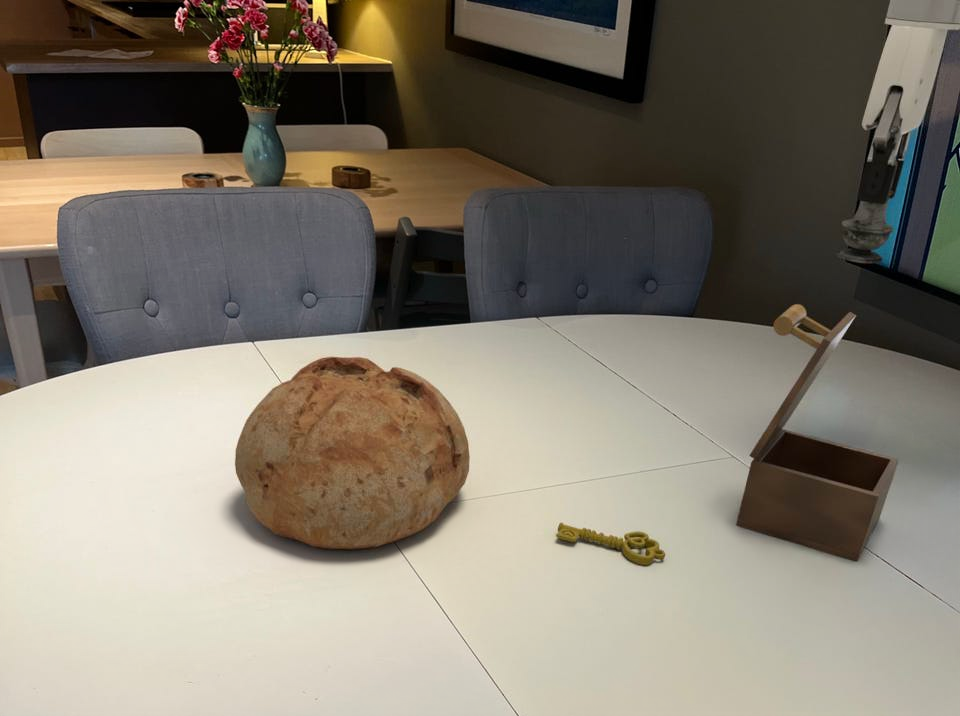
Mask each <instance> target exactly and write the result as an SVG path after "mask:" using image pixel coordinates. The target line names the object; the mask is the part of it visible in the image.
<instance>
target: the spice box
mask: <svg viewBox="0 0 960 716" xmlns="http://www.w3.org/2000/svg"><path fill="white" fill-rule="evenodd" d="M899 461H900V458H898V457H894V456H890V455H887V454H882V453H877V452H874V451H869V450H867V449H863V448H859V447H854V446H851V445H846V444H842V443H839V442H835V441H831V440H828V439H824V438H819V437H816V436H813V435H808V434H804V433H800V432H797V431H792V430H789V429H785V428H782V429H781V430H780V432H779V433H778V434H777V435H776V436H775V437H774V439H773V440H772V441H771V442H770V443H769V444H768V446H767V447H766V448H765V449H764V450H763V451H762V453H761V454H760V455H759V456H758V457H757V458H756V459H754V458H752V460H751V462H750V467H749V470H748V474H747V479H746V481H745V486H744V490H743V494H742V499H741V501H740V502H741V503H740V507H739V511H738V515H737V519H736V523H735V526H738V527H742V528H745V529H748V530H752V531H755V532H759V533H762V534H764V535H767V536H771V537H774V538H778V539H782V540H785V541H788V542H791V543H795V544H797V545H798V544H799V545H801V546H804V547H808V548H812V549H814V550H818V551H822V552H826V553H828V554H831V555H836V556H838V557H841V558H845V559H848V560H851V561H855V562H858V561H859V559H860V557H861V555H862V554H863V551H864V550H865V548H866V546H867V544H868V542H869V541H870V538H871V536H872V534H873V532H874V530H875V529H876V526H877V525H878V523H879V521H880V518H881V515H882V512H883V508H884V506H885V503H886V500H887V497H888V494H889V491H890V488H891V485H892V482H893V479H894V477H895V473H896V471H897V467H898V465H899Z"/></svg>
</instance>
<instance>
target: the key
mask: <svg viewBox="0 0 960 716" xmlns="http://www.w3.org/2000/svg"><path fill="white" fill-rule="evenodd" d="M555 537H556V538H557V539H560V540H563V541H568V542H570V543H575V542H577V540H578V539H580V540H584V541H586V542H588V541H589V542H590V543H593V542H596V543H597V545H602V544H604V545H606V547H608V548H612V549H615V548H616V549H617V551H619V550H621V552H622V554H623V555H624V557H625V558H626V559H627V560H628V561H631V562H633V563H635V564H638V565H640V566H641V565H642V566H648V565H651V564H652V563H653V562H654V560H658V561H659V560H663V559H665V558H666V552H665V551H664V550H663V549H661V548H660V544H659V542H658V541H657V540H656V539H652V538H650V537H649V534H648V533H647V532H644V531H631V532H627V533H624V536H623V537H618V536H616V535H615V536H613V534H610V535H608V536H607V535H605V534H604V533H603V532H599V533H597V532H596V530H592V529H591V528H586V527H583V528H578V527H574V526H572V525H567V524H564V522H559V524H558V526H557V533H556V535H555ZM631 548H635V549H643V548H645V552H644V553H645V555H642V554H639V553H637V552H636V551H633V550H632V549H631Z"/></svg>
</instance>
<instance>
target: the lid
mask: <svg viewBox="0 0 960 716" xmlns="http://www.w3.org/2000/svg"><path fill="white" fill-rule="evenodd" d="M856 317H857V315H856V314H855V313H853V312H851V311H849V312H848V313H847V314H846V315H845V316H844V317H843V318H842V319H841V320H840V321H839V322H838V323H836V325H835V326H834V327H833V328H832V329H830V328H827V327H826V326H824V325H822V324H821V323H819V322H817V321H815V320H814V319H813V318H810V317H809V316H808V315H807V310H806V308H805V307H804V305H802V304H799V303H797V304H793V305H791V306H790V307H789V308H787V309H786V310H785V311H784V312H782V314H780V315H779V316H778V317H777V318H776V319H775V320H774V322H773V331H774V332H775V334H777V335H778V336H782V337H784V336H785V337H786V336H787V335H789V334H790V335H792V336H793V337H795V338H797V339H798V340H800V341H802V342H803V343H805V344H807V345H809V346H810V347H812V348H814V349H815V351H814V353H813V354H812V356H811V358H810V359H809V361H808V362H807V364H806V366H805V367H804V368H803V371H802V372H801V373H800V375H799V377H798V378H797V380H796V381H795V383H794V384H793V386H792V388H791V389H790V390H789V392H788V394H787V395H786V397H785V399H784V400H783V402H782V403H781V404H780V406H779V408H778V410H777V411H776V413H775V414H774V416H773V418H772V419H771V421H770V422H769V424H768V425H767V427H766V429H765V430H764V432H763V433H762V435H761V436H760V438H759V440H758V441H757V442H756V444H755V446H754V447H753V449H752V450H751V452H750V453H749V457H750V458H752V459H756V458H757V457H758V456H759V455H760V454H761V453H762V451H763V450H764V449H765V448H766V447H767V446H768V444H769V443H770V442H771V441H772V440H773V439H774V437H775V436H776V435H777V434H778V433H779V432H780V430H781V429H784V427H785V426H786V424H787V423H788V422H789V420H790V419H791V417H792V415H793V413H794V412H795V411H796V409H797V408H798V406H799V404H800V403H801V401H802V400H803V399H804V397H805V395H806V394H807V392H808V390H809V389H810V388H811V386H812V384H813V383H814V381H815V380H816V378H817V377H818V375H819V374H820V372H821V370H822V369H823V368H824V366H825V364H826V363H827V361H828V360H829V358H830V357H831V355H832V353H833V352H834V350H835V349H836V348H837V346H838V344H839V343H840V341H841V340H842V338H843V337H844V335H845V334H846V332H847V330H848V329H849V327H850V326H851V324H852V323H853V321H854V320H855V318H856ZM800 324H802V325H803V326H805V327H807V328H809V329H811V330H812V331H813V332H815V333H817V334H819V335H820V336H822V337H823V339H822V340H820V339H818V338H816V337H815V336H813V335H811V334H809V333H807V332H806V331H804V330H803V329H801V328H799V327H798V326H800Z"/></svg>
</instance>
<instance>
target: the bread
mask: <svg viewBox="0 0 960 716" xmlns="http://www.w3.org/2000/svg"><path fill="white" fill-rule="evenodd" d="M234 457H235V458H234V468H235V474H236V477H237V479H238V482H239V484H240V485H241V487H242V489H243V492H244V497H245V500H246V504H247V508H248V509H249V511H250V513H252V515H253V516H254V517H255V518H256V520H257V521H258V522H259V523H260V524H261V525H262V526H264V527H265V528H266V529H268V530H269V531H270V532H272V533H273V534H274V535H276V536H280V537H284V538H288V539H292V540H296V541H299V542H301V543H303V544H305V545H308V546H310V547H313V548H321V549H335V550H338V549H339V550H341V549H343V550H345V549H346V550H357V549H369V548H377V547H381V546H383V545H384V546H385V545H386V544H390V543H393V542H396V541H399V540H401V539H404V538H407V537H409V536H412V535H413V534H416V533H418V532H420V531H423V530H425V528H427V527H428V526H429V525H431V524H433V522H435V521H436V519H437V518H438V517H439V516H440V514H441V513H442V511H443V510H444V509H445V507H446V506H447V504H448V503H450V502H451V501H453V500H454V499H455V498H456V496H457V495H458V493H459V492H460V491H461V490H462V488H463V486H465V484H466V482H467V478H468V475H469V473H470V459H471V457H470V450H469V440H468V437H467V433H466V430H465V426H464V425H463V422H462V419H461V418H460V416H459V414H458V413H457V411H456V410H455V408H454V407H453V406H452V404H451V402H450V401H449V400H448V399H447V398H446V397H445V395H444V394H443V393H442V392H441V391H440V390H439V389H438V387H435V386H434V385H433V384H432V383H431V382H430V381H428V379H425V378H424V377H423V376H421V375H419V374H418V373H416V372H413V371H411V370H407V369H405V368H402V367H397V366H393V367H391V369H390V370H388V371H385V370H384V369H383V368H381V367H380V365H378V364H377V363H375V362H374V361H372V360H370V359H368V358H367V357H361V356H356V357H355V356H353V357H340V356H328V357H327V356H326V357H321V358H318V359H316V360H313V361H311V362H310V363H308V364H307V365H305V366H303V367H301V368H300V369H299V370H298V371H297V372H296V373H295V374H294V375H293V376H292V377H291V379H290V380H289V379H288V380H286V381H283V382H282V383H280V384H278V385H276V386H274V387H273V388H271V390H270V391H268V393H267V394H266V395H265V396H264V397H263V398H262V399H261V401H260V402H258V403H257V405H256V407H254V408H253V410H252V411H251V413H250V414H249V416H248V417H247V419H246V420H245V423H244V425H243V427H242V429H241V432H240V435H239V437H238V440H237V444H236V448H235V456H234Z"/></svg>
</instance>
